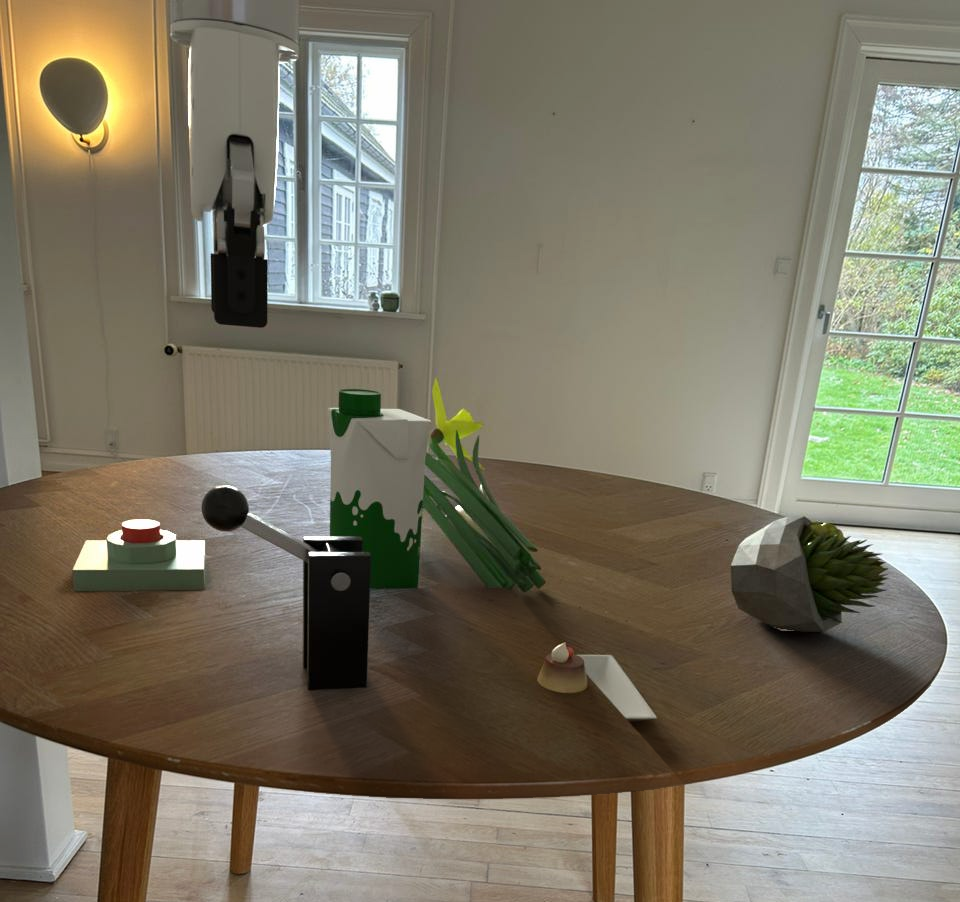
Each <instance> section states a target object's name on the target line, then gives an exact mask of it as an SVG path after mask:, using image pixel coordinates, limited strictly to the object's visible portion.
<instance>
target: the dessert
mask: <svg viewBox="0 0 960 902" xmlns="http://www.w3.org/2000/svg"><path fill="white" fill-rule="evenodd" d="M562 640H563V643H561V644H559V645H557V646H555V647H554V648H553V649H552V651H551V653H549V654H547V655H546V657H545V660H544V661H543V663H542V666H541V669H540V671H539V673H538V676H537V678H536V679H537V682H538V684H539V685H540V686H542V687H543V688H545V689H547V690H549V691H553V692H556V693H563V694H574V693H580V692H583V691H585V690H586V689H587V688H588V686H589V685H588V678H587V676H588V677H589V679H590V680H591V681H592V682H593V683H594V684H595V685H596V686H597V688H598V689H599V690H600V691H601V692H602V694H603V695H604V696H605V697H606V698H607V699H608V700H609V701H610V702H611V704H612V705H613V706H614V707H615V708H616V709H617V710H618V711H619V713H621V715H622V716H623V717H624V718H625V719H626V721H627V722H629V723H632V722H639V721H646V720H647V721H648V720H655V719H658V717H657V715H656V713H654V711H653V709H651V707H650V705H648V703H647V702H646V700H645V698H643V696H642V695H641V693H640V692H639V690H638V689H637V688H636V686H635V685H634V683H633V682H632V681H631V679H630V678H629V676H628V675H627V674H626V673H625V671H624V669H622V667H621V665H620V664H619V662H617V660H616V659H615V657H614V656H613V655H612V654H575V651H574V649H573V648H572V647H570V646H569V645H568V644H567V642H566V641H565V638H562Z"/></svg>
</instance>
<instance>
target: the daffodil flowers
mask: <svg viewBox="0 0 960 902" xmlns="http://www.w3.org/2000/svg"><path fill="white" fill-rule="evenodd" d="M431 390H432V394H431V395H432V396H431V397H432V401H433V407H434V412H435V414H434V415H435V425H436V426H435V427H436V428H433V429H432V430H431V431H430V433H429V438H428V446H429V449H430V450H431V452H432V453H433V455H434V456H435V457H433V455H432V454H430V453H428V452H427V451H426V458H425V467H427V468H428V469H429V470H430V471H431V472H432V473H433V474H434V475H435V476H436V477H437V478H438V479H439V480H440V481H442V483H443V484H445V486H446V487H447V488H448V489H449V490H450V491H451V492H453V494H455V496H454V495H453V494H452V493H449V492H447V491H444V490H440V489H439V487H438V486H437V485H436V483H434V482H433V481H432V480H431V479H430V478H429V477H428V476H427V475H426V474H424V490H423V508H422V510H423V509H425V511H426V512H427V513H428V515H429V516H430V518H429V519H430V520H433V521H434V522H435V523H436V524H437V526H438V527H439V529H440V530H441V531H442V532H443V534H444V535H445V537H446V538H447V539H448V540H449V542H450V543H451V544H452V545H453V546H454V548H455V549H456V550H457V551H458V552H459V554H460V555H461V557H463V559H464V560H465V561H466V563H467V564H468V565H469V566H470V568H471V569H472V570H473V572H474V573H475V574H476V575H477V577H478V579H480V580H481V582H482V583H483V585H484V586H485V587H486V588H489V589H490V588H510V590H511V589H513V588H514V587H515V586H516V585H517V586H518V588H519V589H520V590H521V591H522V592H523V593H526V592H528V591H530V590H531V589H533V587H534V586H535V588H536V589H538V590H539V589H541V588H542V587H543V586H544V585H545V584H546V582H547V581H546V579H545V578H544V577H543V576H542V575H541V573H540V572H539V571H541V570H542V568H541V567H542V566H541V565H540V564H539V563H538V562H537V560H536V559H535V557H533V555H532V554H531V553H530V552H533V553H537V552H538V551H539V550H538V548H537V547H535V545H534V544H533V543H532V542H531V541H530V540H529V539H528V538H527V537H526V535H524V533H522V531H521V530H520V529H519V528H518V527H517V526H516V525H515V524H514V523H513V522H512V521H511V519H509V518H508V517H507V516H506V515H505V514H504V513H503V511H501V508H500V507H499V505H498V503H497V502H496V499H495V498H494V496H493V494H492V492H491V490H490V488H489V486H488V485H487V482H486V480H485V477H484V475H483V473H482V471H481V469H482V470H485V468H484V466H483V465H482V464H481V463H479V448H480V447H479V446H480V435H479V434H478V435H477V438H476V440H475V442H474V445H473V449H472V453H471V454H472V455H471V454H470V453H469V452H468V451H467V450H466V448H465V447H464V446H463V444H462V443H461V439H464V438H466V437H468V436H470V435H472V434H473V433H475V432H477V431H478V430H480V429H481V428H482V427H484V425H485V424H484V423H482V422H480V421H475V419H473V417H474V416H473V415H471V412H468V409H466V408H462V409H461V410H460V411H459V412H457V414H456V415H455V416H453V417H452V418H451V419H450V420H447V413H446V410H445V406H444V401H443V396H442V393H441V388H440V385H439V381H438V379H437V376H435V377H434V382H433V385H432V389H431ZM442 442H444V445H445V446H446V447H447V446H449V448H450V449H451V451H452V453H453V454H454V456H455V457H456V459H457V463H458V466H459V468H458V467H457V465H456V464H455V463H454V462H453V461H452V460H451V458H450V457H449V456H448V455H447V454H446V452H444V451H443V449H442V448H441V447H440V445H439V444H440V443H442ZM465 458H466V459H468V461H470V462H472V466H473V468H474V471H475V472H476V476H477V477H478V480H479V481H480V486H479V487H478V485H477V484H476V482H475V480H474V478H473V476H472V475H471V471H470V470H469V467H468V464H467V461H466V459H465ZM448 498H449V499H451V500H453V501H454V502H455V503H456V504H457V506H454V505H453V504H452V502H451V501H450V500H449V499H448ZM422 523H423V525H424V526H426V524H425V517H424V514H423V513H422Z"/></svg>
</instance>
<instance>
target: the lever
mask: <svg viewBox="0 0 960 902" xmlns="http://www.w3.org/2000/svg"><path fill="white" fill-rule="evenodd" d="M200 510H201V514H202V517H203V519H204V521H205V522H206V524H208V525H209V526H210V527H211V528H213V529H214V530H216V531H219V532H223V533H225V532H234V531H236V530H238V529H240V528H243V529H244V530H246V531H248V532H250V533H252V534H254V535H255V536H257V537H259V538H261V539H263V540H265V541H267V542H269V543H270V544H272V545H274V546H276V547H278V548H280V549H282V550H283V551H285V552H287V553H289V554H291V555H293V556H294V557H296V558H298V559H300V560H302V561H303V560H304V561H305V562H307V563H308V552H320V551H319V550H317V549H315V548H313V547H311V546H309V545H308V544H306V543H304V542H303V540H301V539H298V538H297V537H295V536H293V535H291V534H290V533H288V532H286V531H284V530H283V529H280V528H278V527H277V526H275V525H273V524H271V523H269V522H267V521H266V520H264V519H263V518H261V517H258V516H257V515H255V514H253V513H251V512H250V507H249V502H248V500H247V497H246V496H245V495H244V493H243V492H242V491H241V490H239V489H237V488H236V487H234V486H231V485H218V486H215V487H212V488H210V490H208V491H207V492H206V493H205V495H204V497H203V498H202V502H201V509H200ZM321 552H342V551H341V550H339V549H337V548H335V547H333V546H332V545H330V544H328V543H326V544H325V546H324V547H323V549H322V551H321Z"/></svg>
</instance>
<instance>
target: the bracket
mask: <svg viewBox="0 0 960 902" xmlns="http://www.w3.org/2000/svg"><path fill="white" fill-rule="evenodd" d="M302 542H304V543H306V544H308V545H309V546H311V547H313V548H315V549H317V550H319V551H320V552H308V563H307V562H305V561H304V560H302V667H303V669H306V683H307V684H306V686H307V690H308V691H325V690H326V691H327V690H344V689H345V690H346V689H347V690H348V689H366V688H367V685H368V657H369V634H370V633H369V630H370V629H369V628H370V627H369V626H370V603H371V602H370V601H371V589H370V575H371V555H370V553H369V552H363V540H362V538H361V537H330V536H313V535H311V536H310V535H309V536H306V535H305V536H302ZM326 543H328V544H330V545H332V546H333V547H335V548H337V549H339V550H341V551H342V552H321V551H322V549H323V547H324V546H325V544H326Z"/></svg>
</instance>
